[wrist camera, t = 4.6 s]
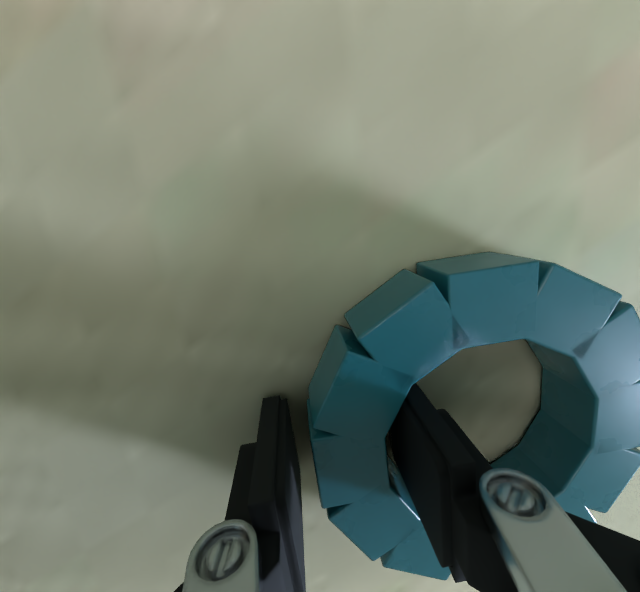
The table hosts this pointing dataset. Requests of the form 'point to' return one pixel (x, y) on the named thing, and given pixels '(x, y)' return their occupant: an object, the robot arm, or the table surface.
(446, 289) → the ring
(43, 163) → the table surface
